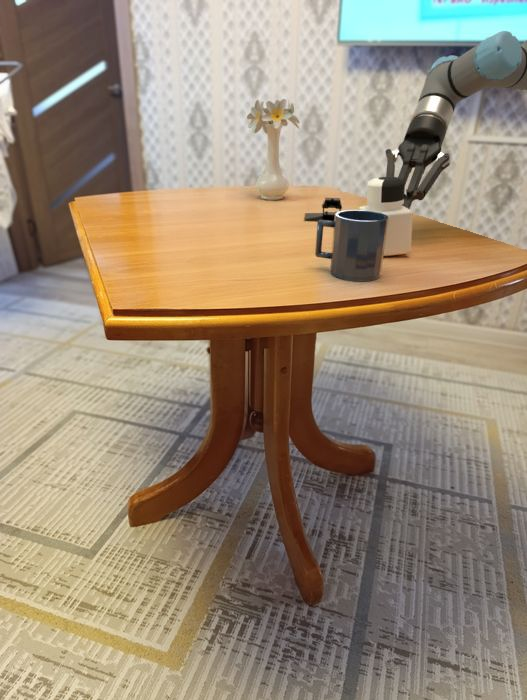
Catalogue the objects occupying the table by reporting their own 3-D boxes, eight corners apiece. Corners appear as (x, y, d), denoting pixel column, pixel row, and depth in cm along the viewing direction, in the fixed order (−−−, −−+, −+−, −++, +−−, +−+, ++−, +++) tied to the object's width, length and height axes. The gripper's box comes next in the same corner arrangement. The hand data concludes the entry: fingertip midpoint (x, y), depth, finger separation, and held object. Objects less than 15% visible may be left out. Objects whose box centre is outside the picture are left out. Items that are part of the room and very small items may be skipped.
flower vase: (271, 190, 153) (273, 98, 141) (307, 201, 139) (313, 99, 127) (233, 194, 146) (232, 97, 135) (267, 205, 132) (269, 98, 121)
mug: (384, 270, 86) (392, 213, 82) (374, 284, 79) (382, 223, 75) (321, 261, 90) (325, 206, 86) (306, 274, 83) (310, 215, 79)
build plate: (304, 221, 118) (305, 200, 116) (305, 214, 124) (305, 195, 122) (358, 223, 117) (360, 202, 115) (356, 216, 124) (357, 196, 121)
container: (396, 242, 100) (399, 173, 94) (411, 253, 93) (415, 179, 87) (357, 246, 99) (358, 177, 93) (369, 258, 92) (371, 184, 86)
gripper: (461, 142, 103) (427, 241, 98) (398, 138, 109) (362, 232, 104) (461, 114, 97) (424, 219, 91) (394, 111, 102) (356, 210, 97)
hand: (391, 225), depth 97 cm, fingers closed
